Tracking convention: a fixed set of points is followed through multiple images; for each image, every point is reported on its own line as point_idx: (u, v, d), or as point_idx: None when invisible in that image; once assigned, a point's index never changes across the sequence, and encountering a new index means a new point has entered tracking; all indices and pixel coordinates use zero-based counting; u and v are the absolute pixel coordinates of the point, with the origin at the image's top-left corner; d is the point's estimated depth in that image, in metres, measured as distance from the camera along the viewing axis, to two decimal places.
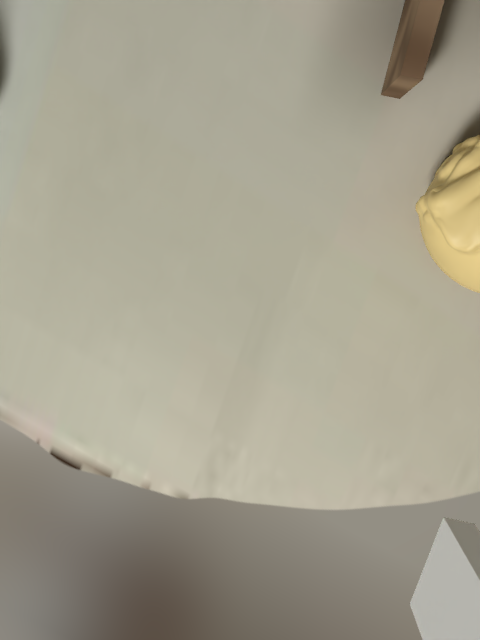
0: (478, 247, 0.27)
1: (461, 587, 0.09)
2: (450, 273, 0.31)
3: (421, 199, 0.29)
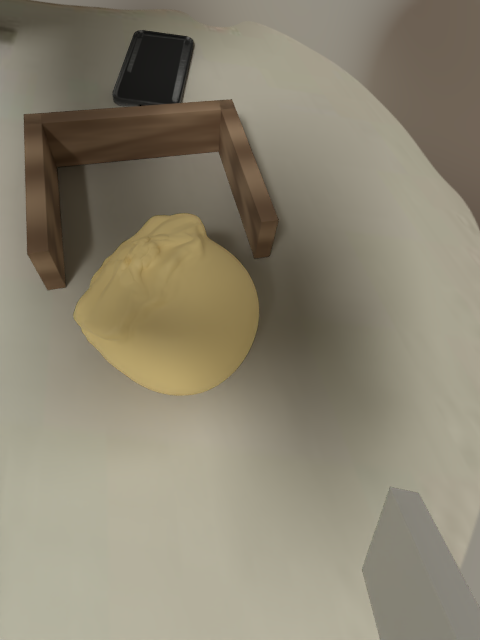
0: (126, 325, 0.25)
1: (399, 547, 0.10)
2: (148, 380, 0.27)
3: None
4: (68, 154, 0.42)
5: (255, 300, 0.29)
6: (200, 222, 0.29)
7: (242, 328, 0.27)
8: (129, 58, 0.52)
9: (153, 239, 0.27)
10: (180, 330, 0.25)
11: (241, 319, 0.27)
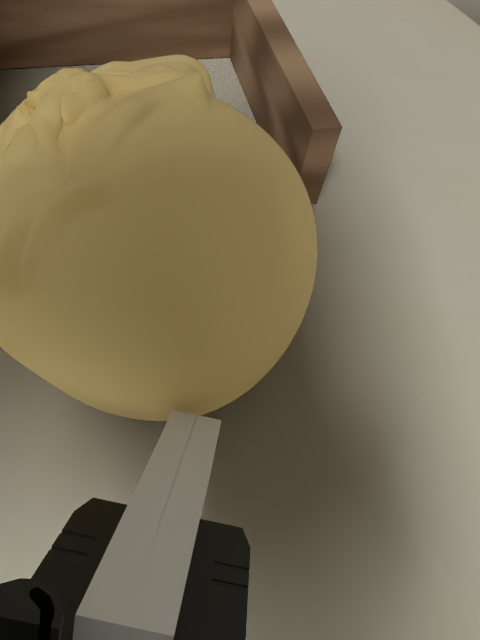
0: (10, 252, 0.10)
1: None
2: (81, 390, 0.12)
3: None
4: None
5: (315, 226, 0.14)
6: (202, 67, 0.14)
7: (292, 278, 0.12)
8: None
9: (95, 74, 0.12)
10: (146, 267, 0.10)
11: (291, 256, 0.12)
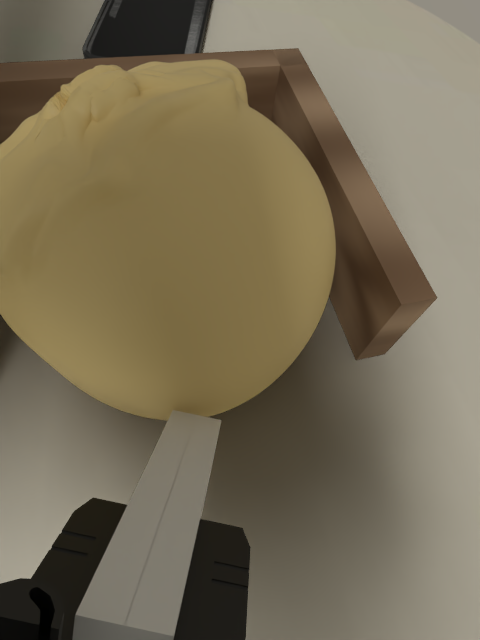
0: (25, 238, 0.10)
1: None
2: (81, 380, 0.12)
3: None
4: None
5: (333, 242, 0.14)
6: (239, 73, 0.14)
7: (302, 293, 0.12)
8: None
9: None
10: (154, 267, 0.10)
11: (303, 270, 0.12)
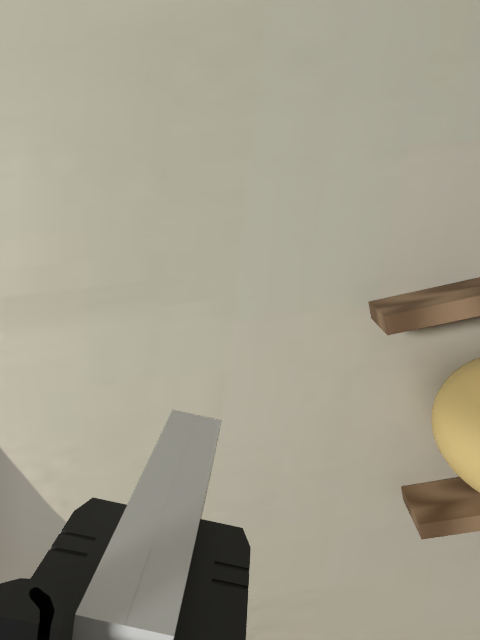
0: None
1: None
2: (458, 395, 0.32)
3: None
4: None
5: None
6: None
7: (479, 489, 0.31)
8: None
9: None
10: None
11: None
